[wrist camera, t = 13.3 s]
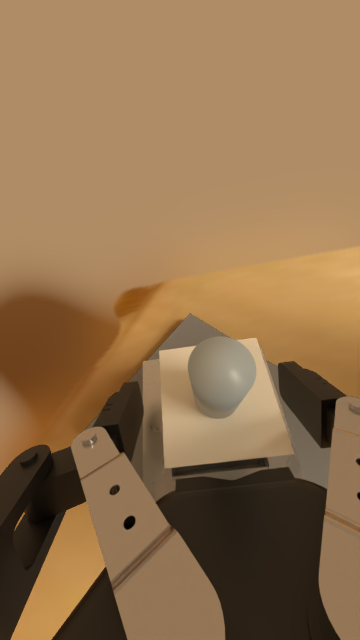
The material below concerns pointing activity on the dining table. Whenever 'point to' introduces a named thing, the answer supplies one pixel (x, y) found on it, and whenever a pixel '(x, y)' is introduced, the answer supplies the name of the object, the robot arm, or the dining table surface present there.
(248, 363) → the plug
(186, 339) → the port board
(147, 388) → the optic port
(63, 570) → the dining table surface
